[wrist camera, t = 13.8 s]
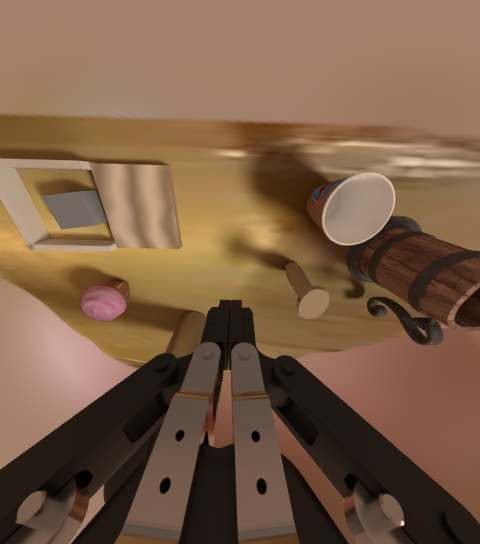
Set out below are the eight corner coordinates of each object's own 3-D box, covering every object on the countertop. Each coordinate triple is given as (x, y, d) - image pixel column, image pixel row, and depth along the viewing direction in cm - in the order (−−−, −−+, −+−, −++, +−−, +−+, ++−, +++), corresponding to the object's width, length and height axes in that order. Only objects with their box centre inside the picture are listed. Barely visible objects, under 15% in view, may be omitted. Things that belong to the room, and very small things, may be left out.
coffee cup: (340, 163, 33) (389, 154, 22) (354, 211, 37) (400, 224, 26) (290, 194, 35) (312, 199, 24) (308, 236, 39) (334, 256, 29)
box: (96, 162, 33) (79, 160, 29) (122, 245, 40) (111, 251, 37) (5, 160, 32) (-24, 157, 29) (48, 243, 40) (29, 249, 37)
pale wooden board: (171, 166, 33) (167, 165, 31) (182, 246, 40) (179, 249, 39) (97, 164, 33) (89, 163, 31) (122, 244, 40) (116, 247, 38)
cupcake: (132, 272, 44) (105, 295, 35) (143, 300, 48) (120, 327, 39) (98, 274, 44) (62, 297, 35) (111, 301, 48) (82, 328, 39)
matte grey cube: (98, 190, 35) (78, 191, 31) (112, 220, 38) (95, 225, 33) (66, 194, 35) (41, 196, 31) (82, 223, 38) (61, 229, 34)
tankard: (358, 216, 37) (465, 248, 20) (437, 215, 37) (616, 246, 19) (332, 302, 48) (386, 373, 30) (393, 302, 48) (482, 372, 30)
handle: (277, 275, 44) (293, 316, 31) (285, 252, 41) (307, 287, 28) (295, 279, 45) (318, 320, 31) (304, 256, 42) (335, 292, 28)
